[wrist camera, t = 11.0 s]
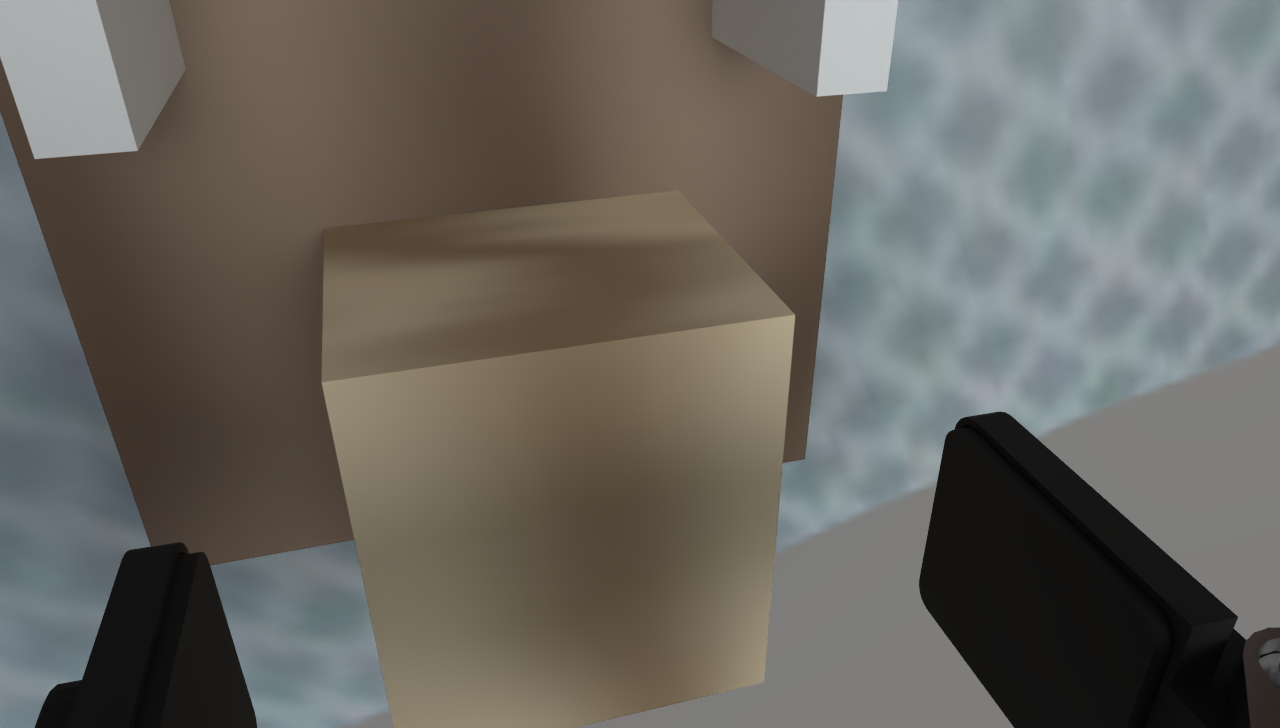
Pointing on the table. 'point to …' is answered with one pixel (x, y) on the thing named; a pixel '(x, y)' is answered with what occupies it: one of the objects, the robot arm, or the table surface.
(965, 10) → the table surface
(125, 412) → the channel board
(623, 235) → the maple block
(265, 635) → the table surface
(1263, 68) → the table surface
